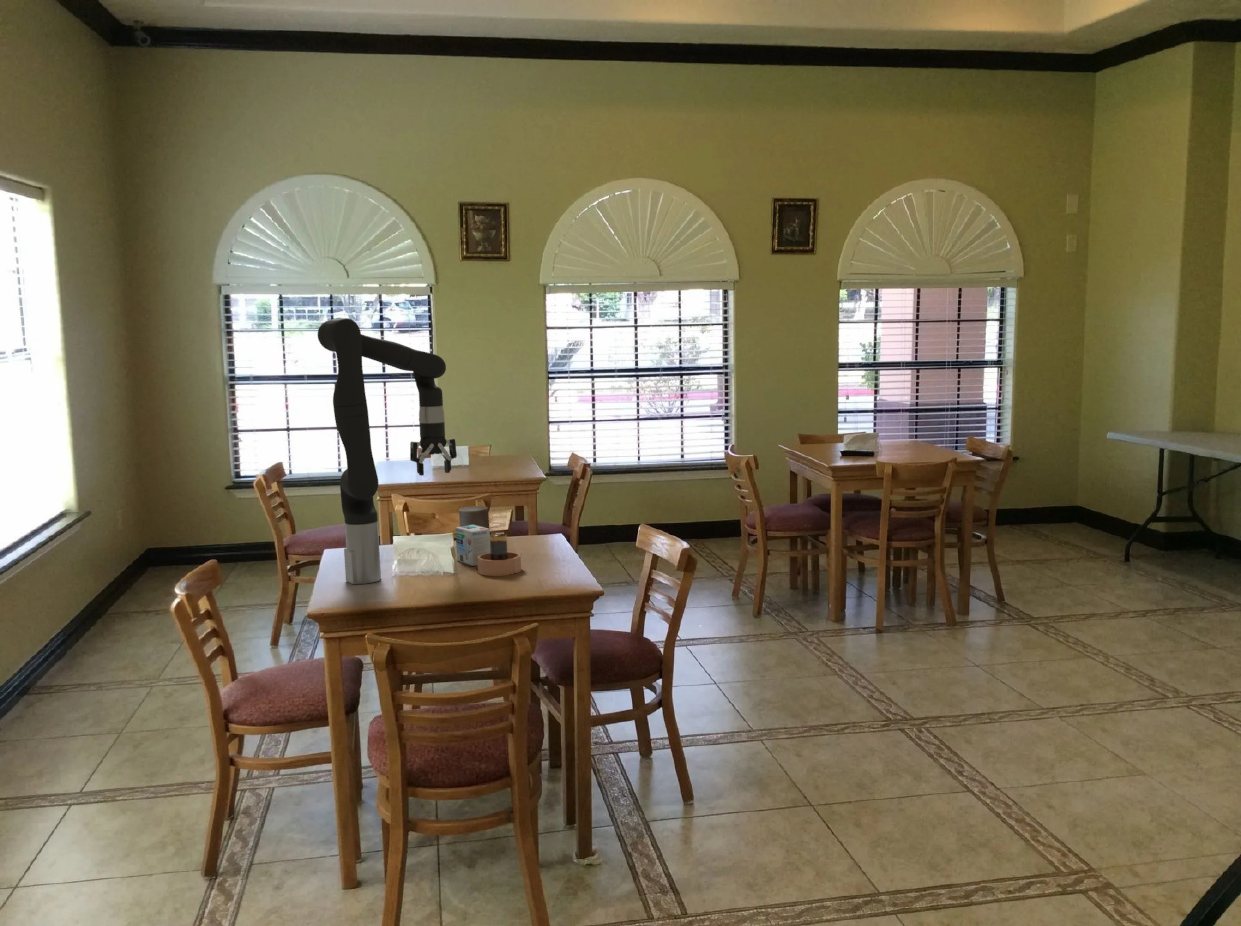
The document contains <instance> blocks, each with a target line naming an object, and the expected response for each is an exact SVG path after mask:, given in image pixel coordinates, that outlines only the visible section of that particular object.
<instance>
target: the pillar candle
mask: <svg viewBox="0 0 1241 926" xmlns="http://www.w3.org/2000/svg"><path fill="white" fill-rule="evenodd" d="M458 511H459V512H458V515H459V527H462V526H468V525H476V526H480V527H484V528H488V529H490V520H489V519H490V518H489V517H490V513H489V506H488V507H487V506H483V505H477V506H476V505H473V506H466V507H461V508H459V509H458Z"/></svg>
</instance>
